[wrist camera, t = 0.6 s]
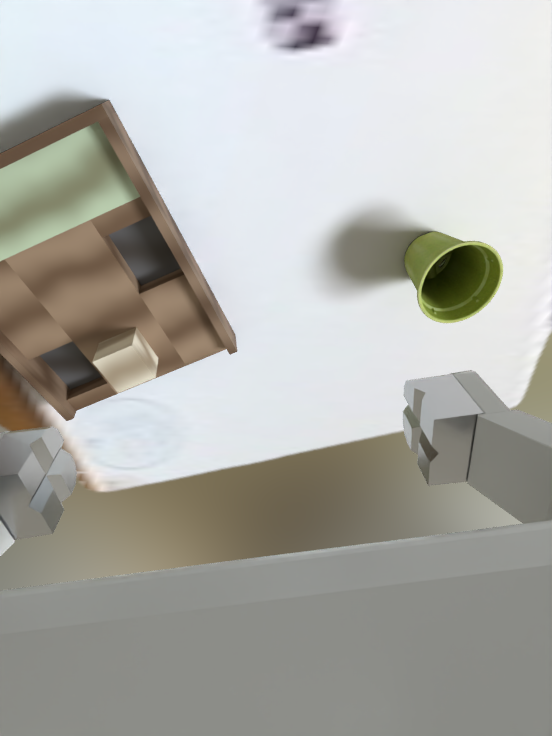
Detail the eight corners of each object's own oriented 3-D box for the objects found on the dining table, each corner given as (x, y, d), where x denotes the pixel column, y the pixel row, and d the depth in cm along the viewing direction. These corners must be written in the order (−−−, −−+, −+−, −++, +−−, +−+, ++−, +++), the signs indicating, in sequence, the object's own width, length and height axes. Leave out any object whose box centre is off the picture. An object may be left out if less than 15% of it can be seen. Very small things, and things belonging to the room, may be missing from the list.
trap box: (-108, 206, 42) (-133, 218, 39) (109, 99, 40) (101, 103, 36) (74, 401, 59) (66, 420, 55) (235, 334, 56) (237, 351, 53)
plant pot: (376, 277, 54) (402, 310, 47) (416, 205, 49) (452, 229, 42) (435, 298, 57) (467, 332, 50) (478, 232, 52) (521, 259, 46)
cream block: (99, 342, 51) (92, 362, 48) (136, 326, 51) (132, 345, 47) (122, 373, 54) (118, 393, 51) (158, 358, 54) (155, 377, 50)
